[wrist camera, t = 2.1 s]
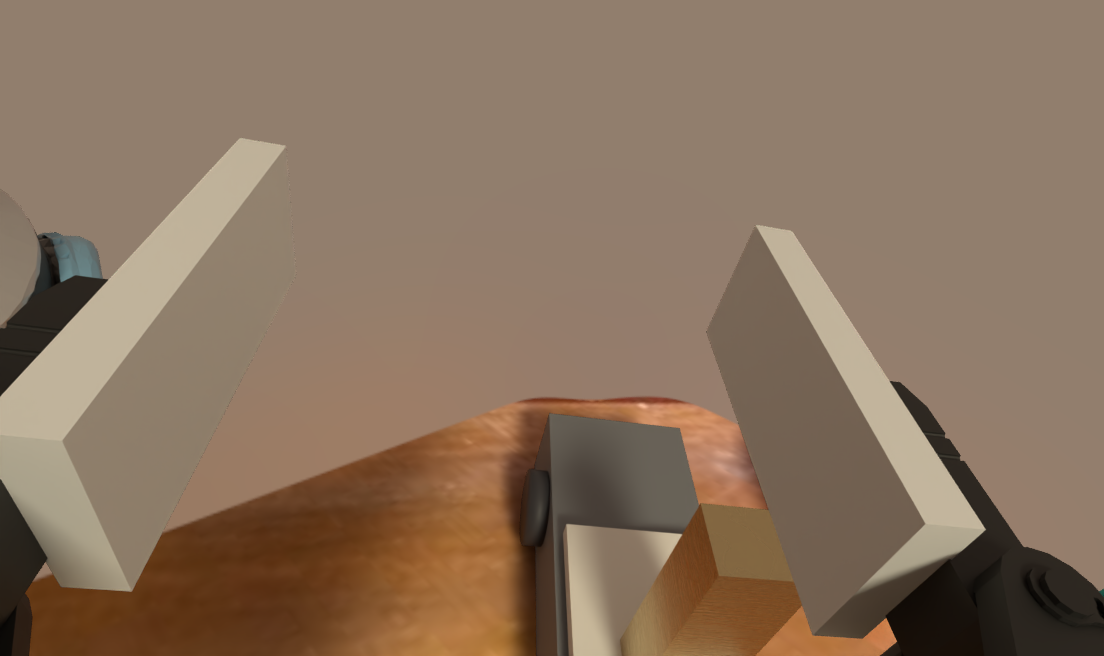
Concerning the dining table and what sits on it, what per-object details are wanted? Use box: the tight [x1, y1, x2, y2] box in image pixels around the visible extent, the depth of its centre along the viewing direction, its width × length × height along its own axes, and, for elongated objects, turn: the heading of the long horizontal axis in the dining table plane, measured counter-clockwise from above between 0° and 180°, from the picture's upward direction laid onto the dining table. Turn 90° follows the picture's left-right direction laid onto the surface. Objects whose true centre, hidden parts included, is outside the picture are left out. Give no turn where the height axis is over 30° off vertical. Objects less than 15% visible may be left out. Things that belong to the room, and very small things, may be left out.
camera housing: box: [520, 413, 699, 656], centre depth 39 cm, size 22×11×6 cm, turn 2°
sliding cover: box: [563, 503, 802, 656], centre depth 29 cm, size 12×9×13 cm
